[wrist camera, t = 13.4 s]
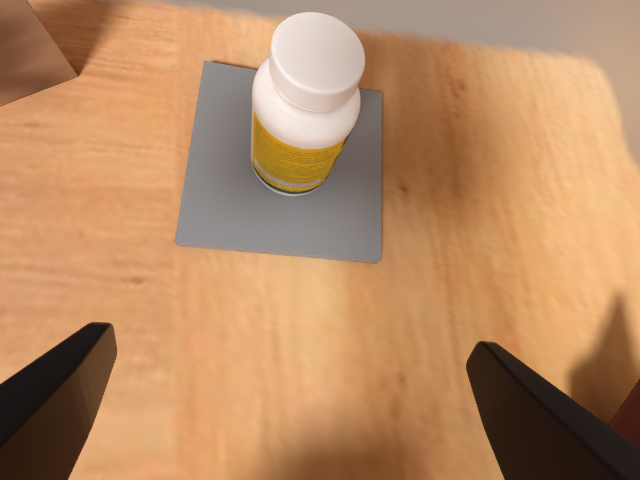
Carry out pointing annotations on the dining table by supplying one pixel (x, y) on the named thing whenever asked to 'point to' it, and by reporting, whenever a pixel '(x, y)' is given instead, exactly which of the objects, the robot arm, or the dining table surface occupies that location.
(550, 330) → the dining table surface
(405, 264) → the dining table surface
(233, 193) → the grey mat
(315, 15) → the supplement bottle
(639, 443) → the icecream
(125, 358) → the dining table surface
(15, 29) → the walnut screen
